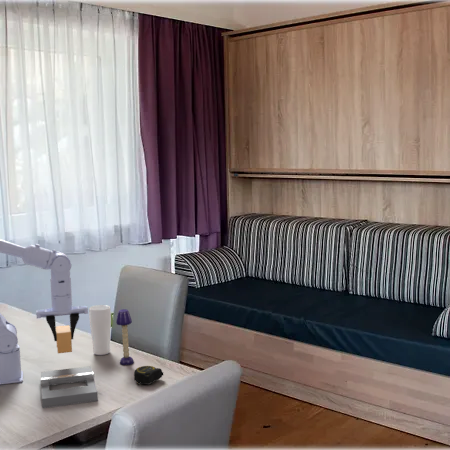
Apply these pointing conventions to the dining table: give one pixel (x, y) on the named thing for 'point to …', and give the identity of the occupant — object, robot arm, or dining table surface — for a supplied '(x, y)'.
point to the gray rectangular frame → (68, 389)
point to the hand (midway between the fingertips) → (63, 339)
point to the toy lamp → (125, 335)
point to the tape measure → (147, 374)
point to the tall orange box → (63, 339)
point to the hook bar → (67, 378)
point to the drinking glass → (100, 328)
